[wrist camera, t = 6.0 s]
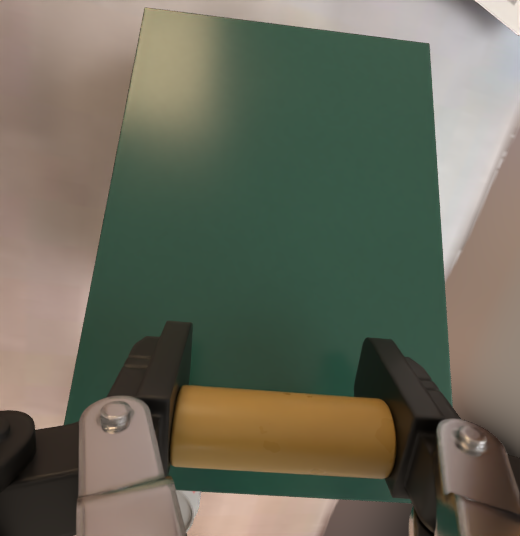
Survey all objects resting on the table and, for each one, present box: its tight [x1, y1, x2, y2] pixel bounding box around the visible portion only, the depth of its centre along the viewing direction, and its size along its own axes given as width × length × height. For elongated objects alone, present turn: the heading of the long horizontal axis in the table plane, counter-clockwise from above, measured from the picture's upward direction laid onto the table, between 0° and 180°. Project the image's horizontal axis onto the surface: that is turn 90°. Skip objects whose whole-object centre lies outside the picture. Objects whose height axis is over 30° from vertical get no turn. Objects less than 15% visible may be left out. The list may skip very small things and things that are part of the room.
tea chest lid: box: [64, 8, 453, 503], centre depth 13 cm, size 18×13×5 cm
